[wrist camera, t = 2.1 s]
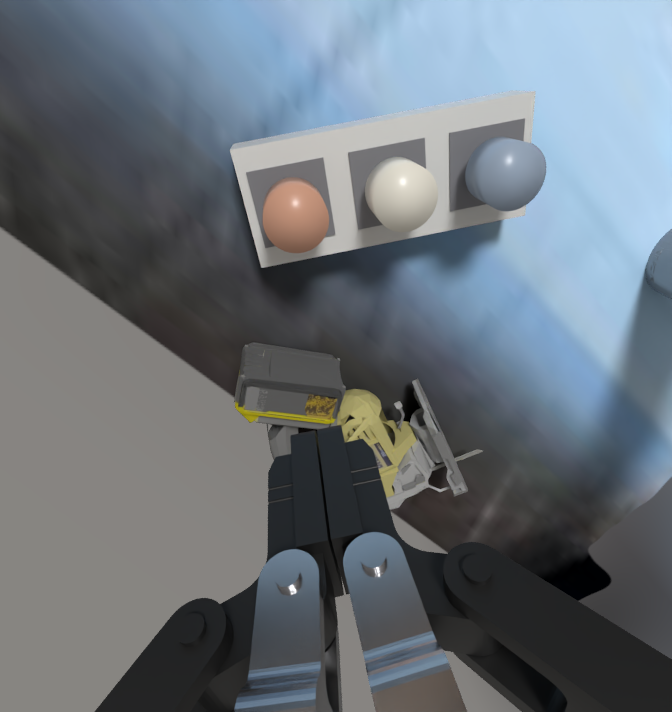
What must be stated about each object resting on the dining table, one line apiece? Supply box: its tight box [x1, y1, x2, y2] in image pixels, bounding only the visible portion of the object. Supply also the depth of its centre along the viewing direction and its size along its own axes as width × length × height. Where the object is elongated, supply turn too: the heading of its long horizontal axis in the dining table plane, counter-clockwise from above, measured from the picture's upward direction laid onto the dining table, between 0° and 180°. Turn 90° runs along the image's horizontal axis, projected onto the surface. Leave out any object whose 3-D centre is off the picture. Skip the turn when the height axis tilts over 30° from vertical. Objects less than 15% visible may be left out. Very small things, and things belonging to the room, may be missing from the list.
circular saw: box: [234, 342, 482, 509], centre depth 51 cm, size 10×30×25 cm
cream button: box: [365, 157, 438, 232], centre depth 34 cm, size 5×5×4 cm
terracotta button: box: [263, 177, 329, 253], centre depth 34 cm, size 5×5×4 cm
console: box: [230, 90, 535, 268], centre depth 39 cm, size 25×10×4 cm, turn 99°
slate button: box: [465, 137, 546, 211], centre depth 34 cm, size 5×5×4 cm
